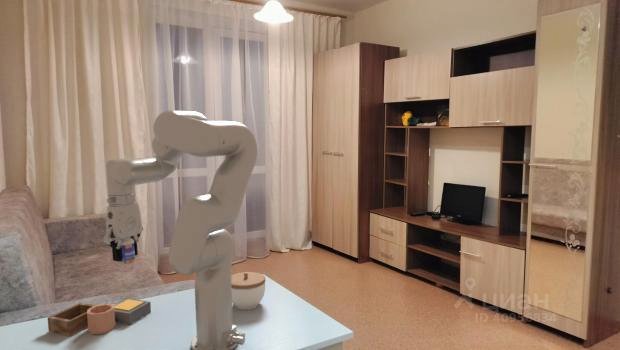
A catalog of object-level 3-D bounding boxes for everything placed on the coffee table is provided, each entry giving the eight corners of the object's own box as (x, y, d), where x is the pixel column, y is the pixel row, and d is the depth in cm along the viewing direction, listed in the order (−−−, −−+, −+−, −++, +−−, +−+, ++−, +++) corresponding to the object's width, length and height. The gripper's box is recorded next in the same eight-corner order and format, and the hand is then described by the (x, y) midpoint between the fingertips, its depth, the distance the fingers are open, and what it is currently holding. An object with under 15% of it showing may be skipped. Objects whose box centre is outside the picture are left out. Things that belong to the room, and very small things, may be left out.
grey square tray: (150, 312, 132) (150, 301, 132) (129, 324, 124) (129, 313, 123) (128, 308, 135) (127, 298, 135) (106, 320, 127) (105, 309, 126)
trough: (102, 319, 127) (101, 306, 127) (70, 336, 117) (69, 321, 117) (81, 315, 130) (80, 302, 130) (48, 331, 120) (47, 317, 120)
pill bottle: (128, 266, 124) (126, 235, 123) (112, 265, 126) (110, 234, 125) (139, 261, 130) (137, 230, 129) (123, 260, 131) (121, 230, 130)
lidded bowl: (232, 297, 143) (231, 266, 142) (268, 297, 143) (267, 266, 142) (223, 313, 131) (221, 279, 130) (262, 313, 130) (262, 279, 129)
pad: (144, 304, 131) (144, 301, 131) (129, 313, 125) (128, 310, 125) (128, 302, 133) (128, 299, 133) (112, 310, 127) (112, 307, 127)
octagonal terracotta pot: (120, 325, 124) (119, 305, 123) (101, 336, 117) (100, 315, 116) (102, 321, 126) (101, 302, 125) (83, 332, 119) (81, 312, 119)
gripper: (109, 205, 116) (113, 267, 118) (151, 195, 132) (154, 251, 134) (88, 203, 119) (93, 265, 121) (133, 194, 135) (136, 249, 137)
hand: (125, 257), depth 127 cm, fingers closed on pill bottle, 5 cm apart
